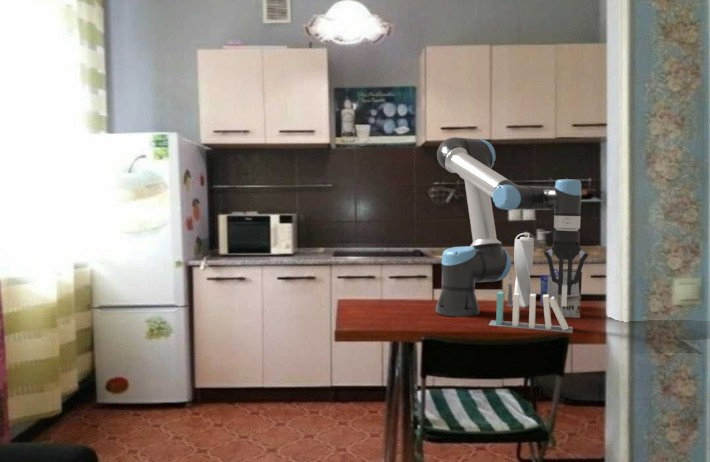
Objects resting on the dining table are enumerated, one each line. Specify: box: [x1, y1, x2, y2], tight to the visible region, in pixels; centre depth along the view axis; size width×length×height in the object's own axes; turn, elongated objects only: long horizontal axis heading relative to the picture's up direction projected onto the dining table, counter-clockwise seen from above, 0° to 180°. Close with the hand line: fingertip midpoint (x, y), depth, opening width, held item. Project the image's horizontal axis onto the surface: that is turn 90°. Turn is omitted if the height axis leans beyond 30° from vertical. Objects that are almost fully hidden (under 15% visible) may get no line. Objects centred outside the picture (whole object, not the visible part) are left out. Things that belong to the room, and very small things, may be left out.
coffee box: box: [558, 268, 583, 319], centre depth 194 cm, size 9×6×16 cm
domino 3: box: [543, 294, 553, 329], centre depth 172 cm, size 2×5×10 cm, turn 159°
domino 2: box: [528, 293, 537, 328], centre depth 173 cm, size 2×5×10 cm, turn 159°
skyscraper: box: [506, 232, 535, 309], centre depth 211 cm, size 8×8×28 cm
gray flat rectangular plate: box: [488, 319, 574, 334], centre depth 174 cm, size 25×8×1 cm, turn 69°
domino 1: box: [511, 292, 520, 327], centre depth 175 cm, size 2×5×10 cm, turn 159°
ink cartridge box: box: [540, 268, 559, 309], centre depth 209 cm, size 10×6×14 cm, turn 104°
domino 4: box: [549, 296, 569, 330], centre depth 171 cm, size 2×5×10 cm, turn 159°
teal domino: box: [495, 290, 505, 325], centre depth 177 cm, size 2×5×10 cm, turn 159°
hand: (563, 305), depth 170 cm, fingers closed
